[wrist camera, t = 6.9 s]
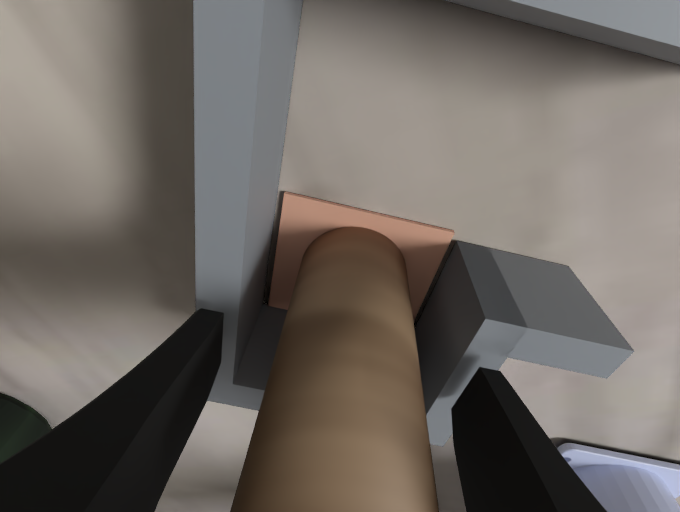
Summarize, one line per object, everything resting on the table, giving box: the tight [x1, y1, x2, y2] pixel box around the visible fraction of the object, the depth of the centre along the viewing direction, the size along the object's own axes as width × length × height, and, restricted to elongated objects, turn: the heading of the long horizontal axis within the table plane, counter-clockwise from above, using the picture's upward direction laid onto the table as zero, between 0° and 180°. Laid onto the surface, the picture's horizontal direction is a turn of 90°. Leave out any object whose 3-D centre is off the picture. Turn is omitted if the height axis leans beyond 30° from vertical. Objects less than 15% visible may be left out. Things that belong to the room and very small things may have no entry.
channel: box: [193, 0, 680, 447], centre depth 11 cm, size 14×12×4 cm
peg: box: [230, 226, 439, 512], centre depth 10 cm, size 4×4×9 cm
